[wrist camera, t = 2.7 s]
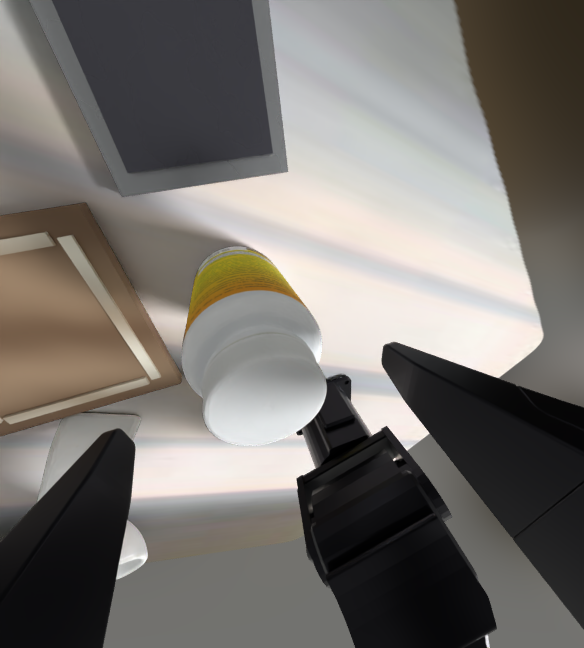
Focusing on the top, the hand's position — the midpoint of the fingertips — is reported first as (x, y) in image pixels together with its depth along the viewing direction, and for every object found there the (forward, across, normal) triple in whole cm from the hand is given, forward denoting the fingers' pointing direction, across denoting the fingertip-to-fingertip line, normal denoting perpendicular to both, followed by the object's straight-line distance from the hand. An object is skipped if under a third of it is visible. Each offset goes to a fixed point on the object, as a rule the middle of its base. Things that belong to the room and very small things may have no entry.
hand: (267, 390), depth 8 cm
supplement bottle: (+10, 0, 0) cm, 10 cm away
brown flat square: (+9, +12, 0) cm, 15 cm away
